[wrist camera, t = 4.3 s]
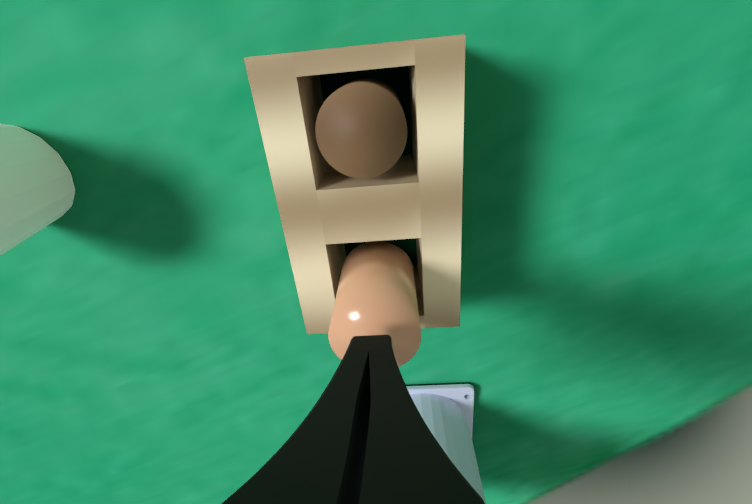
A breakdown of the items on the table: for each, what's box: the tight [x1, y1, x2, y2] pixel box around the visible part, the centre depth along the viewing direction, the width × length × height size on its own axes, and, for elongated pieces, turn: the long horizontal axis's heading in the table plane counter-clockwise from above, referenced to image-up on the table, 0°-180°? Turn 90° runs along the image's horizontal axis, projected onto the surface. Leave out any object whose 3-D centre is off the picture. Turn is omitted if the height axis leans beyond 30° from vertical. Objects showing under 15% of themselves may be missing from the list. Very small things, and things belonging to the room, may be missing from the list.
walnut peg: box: [315, 77, 407, 179], centre depth 16 cm, size 4×4×5 cm
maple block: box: [244, 34, 466, 334], centre depth 18 cm, size 13×8×5 cm, turn 5°
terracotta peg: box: [328, 241, 421, 367], centre depth 16 cm, size 4×4×5 cm
